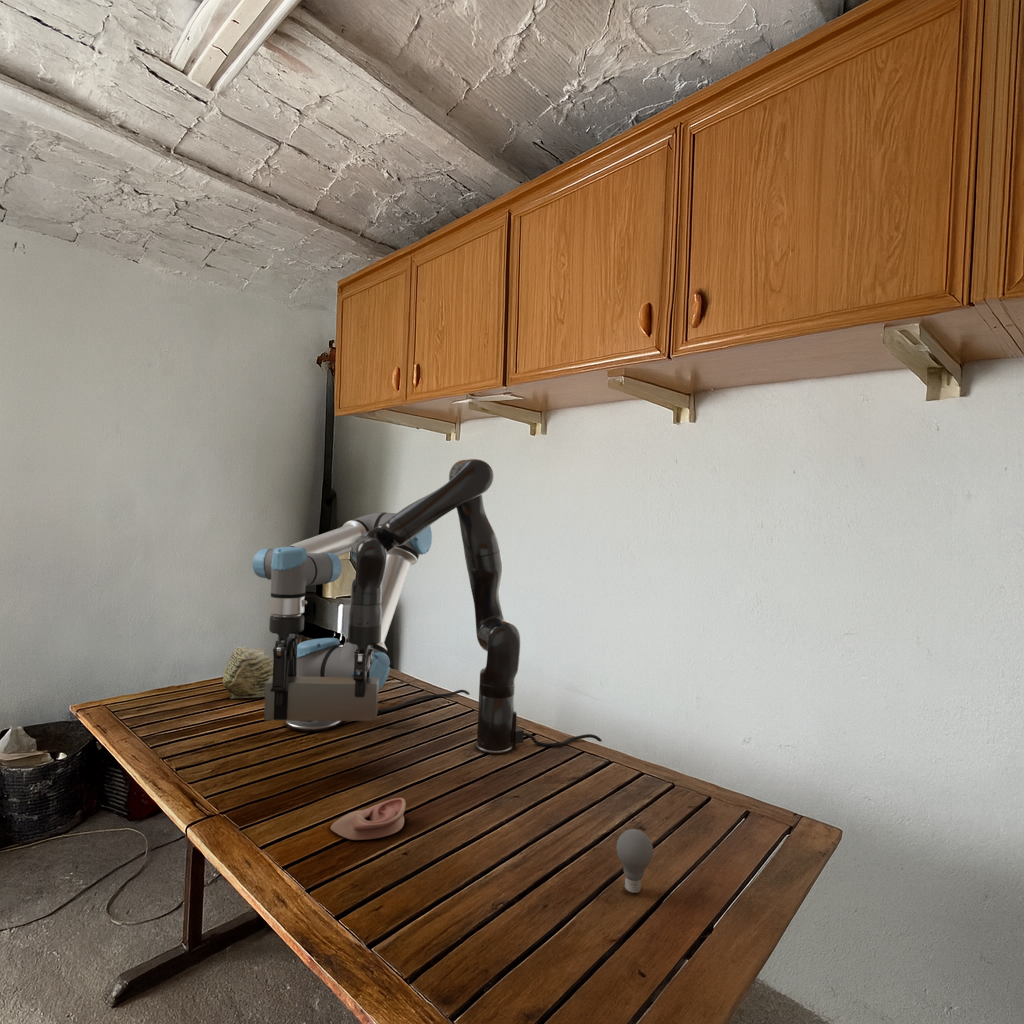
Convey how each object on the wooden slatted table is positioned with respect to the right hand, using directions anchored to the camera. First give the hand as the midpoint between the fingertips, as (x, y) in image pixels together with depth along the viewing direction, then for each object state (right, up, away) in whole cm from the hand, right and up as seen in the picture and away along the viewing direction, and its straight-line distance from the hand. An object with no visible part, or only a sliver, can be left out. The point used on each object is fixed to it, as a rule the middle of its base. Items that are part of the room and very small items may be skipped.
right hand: (362, 691), depth 148 cm
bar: (-9, -6, -1) cm, 11 cm away
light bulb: (+55, -22, -42) cm, 73 cm away
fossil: (-46, -15, +50) cm, 69 cm away
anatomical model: (+7, -19, -25) cm, 32 cm away
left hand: (-18, -5, -2) cm, 18 cm away
